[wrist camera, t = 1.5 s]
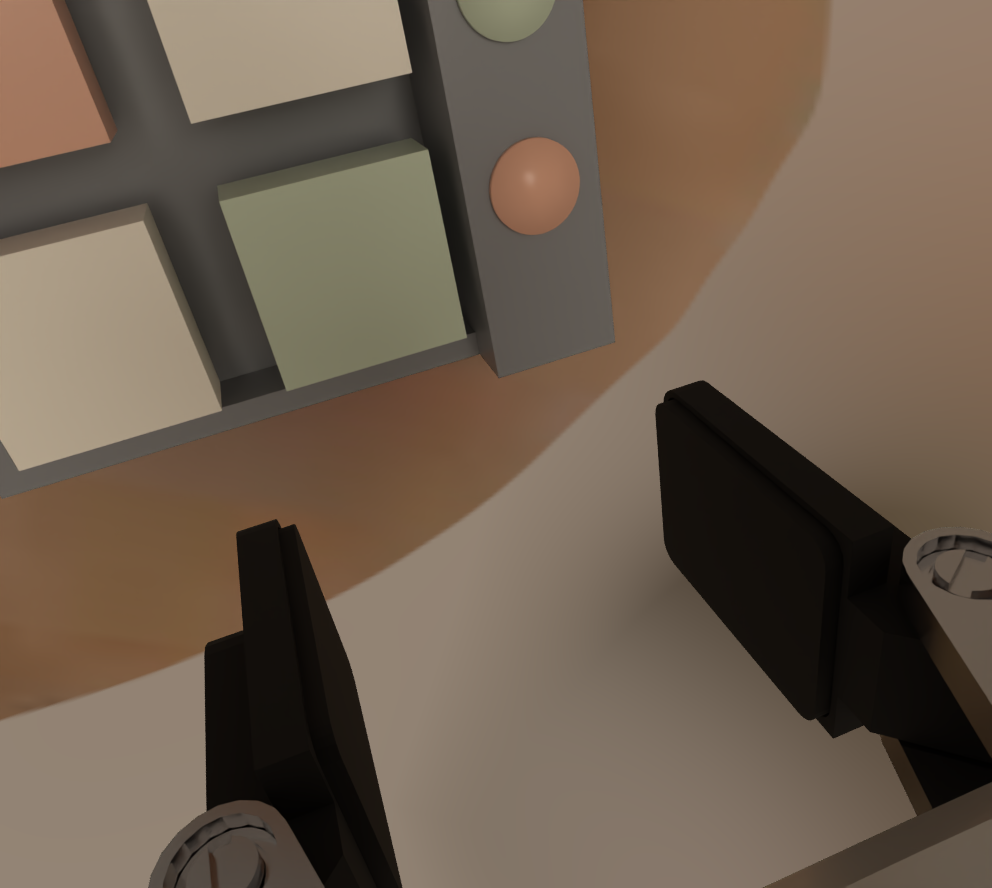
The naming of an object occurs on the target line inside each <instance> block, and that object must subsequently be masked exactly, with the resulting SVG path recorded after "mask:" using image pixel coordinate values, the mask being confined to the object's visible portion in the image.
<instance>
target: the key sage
mask: <svg viewBox="0 0 992 888" xmlns="http://www.w3.org/2000/svg"><path fill="white" fill-rule="evenodd" d="M217 188H218V197H219V203H220V206H221V209H222V212H223V214H224V217H225V220H226V223H227V226H228V228H229V231H230V234H231V237H232V240H233V242H234V245H235V248H236V251H237V254H238V256H239V259H240V262H241V265H242V268H243V270H244V273H245V276H246V279H247V282H248V284H249V287H250V290H251V293H252V296H253V298H254V301H255V304H256V307H257V310H258V312H259V315H260V318H261V321H262V324H263V326H264V329H265V332H266V335H267V338H268V340H269V343H270V346H271V349H272V352H273V354H274V357H275V360H276V363H277V366H278V368H279V371H280V374H281V377H282V380H283V382H284V385H285V388H286V391H290V390H293V389H297V388H300V387H303V386H307V385H310V384H314V383H317V382H320V381H324V380H327V379H330V378H334V377H337V376H340V375H344V374H347V373H350V372H354V371H357V370H360V369H364V368H367V367H371V366H374V365H377V364H381V363H384V362H387V361H391V360H394V359H397V358H401V357H404V356H407V355H411V354H414V353H418V352H421V351H424V350H428V349H431V348H434V347H438V346H441V345H444V344H448V343H451V342H454V341H458V340H461V339H464V338H467V335H466V330H465V325H464V321H463V316H462V311H461V306H460V301H459V296H458V292H457V287H456V282H455V277H454V272H453V267H452V262H451V258H450V253H449V248H448V243H447V238H446V233H445V229H444V224H443V219H442V214H441V209H440V204H439V200H438V195H437V190H436V185H435V180H434V175H433V171H432V166H431V161H430V156H429V151H428V149H427V148H425V147H424V146H422V145H421V144H420V143H418V142H417V141H415V140H414V139H412V138H409V139H405V140H401V141H397V142H392V143H388V144H384V145H380V146H376V147H372V148H368V149H364V150H360V151H356V152H352V153H348V154H344V155H340V156H336V157H332V158H328V159H324V160H319V161H315V162H311V163H307V164H303V165H299V166H295V167H291V168H287V169H283V170H279V171H275V172H271V173H267V174H263V175H259V176H255V177H251V178H246V179H242V180H238V181H234V182H230V183H226V184H222V185H218V186H217Z"/></svg>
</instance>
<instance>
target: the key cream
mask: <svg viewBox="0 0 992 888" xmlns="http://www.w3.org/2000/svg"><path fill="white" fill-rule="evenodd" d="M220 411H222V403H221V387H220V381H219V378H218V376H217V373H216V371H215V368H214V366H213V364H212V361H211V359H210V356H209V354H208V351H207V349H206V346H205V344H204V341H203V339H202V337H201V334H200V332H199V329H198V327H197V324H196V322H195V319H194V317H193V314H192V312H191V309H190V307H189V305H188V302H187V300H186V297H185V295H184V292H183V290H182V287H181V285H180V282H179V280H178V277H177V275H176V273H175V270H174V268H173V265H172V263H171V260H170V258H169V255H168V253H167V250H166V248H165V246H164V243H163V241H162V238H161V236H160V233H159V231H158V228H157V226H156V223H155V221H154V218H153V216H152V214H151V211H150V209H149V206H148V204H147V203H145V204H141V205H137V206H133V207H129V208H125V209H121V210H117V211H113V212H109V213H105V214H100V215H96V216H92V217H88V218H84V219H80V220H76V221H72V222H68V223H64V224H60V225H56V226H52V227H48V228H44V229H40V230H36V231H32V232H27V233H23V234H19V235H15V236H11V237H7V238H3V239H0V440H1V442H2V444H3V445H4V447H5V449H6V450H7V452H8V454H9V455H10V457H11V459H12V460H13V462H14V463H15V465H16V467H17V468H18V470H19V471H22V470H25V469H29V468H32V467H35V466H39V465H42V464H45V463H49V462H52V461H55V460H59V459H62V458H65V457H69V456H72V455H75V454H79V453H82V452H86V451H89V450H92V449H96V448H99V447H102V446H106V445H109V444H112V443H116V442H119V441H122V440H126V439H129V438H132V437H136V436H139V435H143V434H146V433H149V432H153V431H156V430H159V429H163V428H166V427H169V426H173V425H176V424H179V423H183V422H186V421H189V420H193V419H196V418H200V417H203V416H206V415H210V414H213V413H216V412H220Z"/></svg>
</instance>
